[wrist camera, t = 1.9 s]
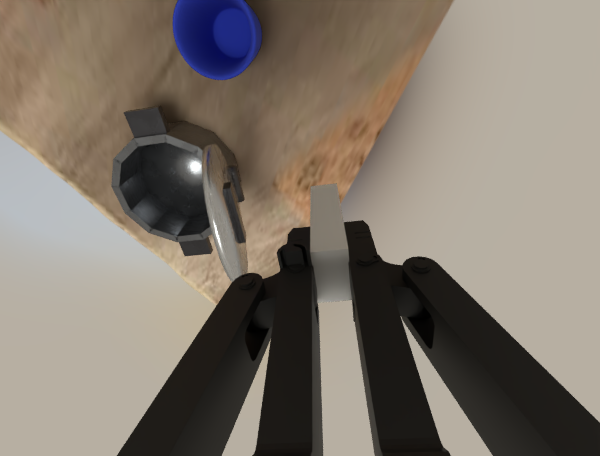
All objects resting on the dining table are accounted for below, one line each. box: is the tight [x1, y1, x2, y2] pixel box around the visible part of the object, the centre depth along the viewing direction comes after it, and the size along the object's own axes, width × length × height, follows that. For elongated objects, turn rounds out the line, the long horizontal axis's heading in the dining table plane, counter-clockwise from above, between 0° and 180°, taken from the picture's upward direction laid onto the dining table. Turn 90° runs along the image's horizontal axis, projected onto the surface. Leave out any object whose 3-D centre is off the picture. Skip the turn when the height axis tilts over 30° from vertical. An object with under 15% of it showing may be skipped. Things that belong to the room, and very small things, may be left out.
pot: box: [112, 106, 245, 256], centre depth 46 cm, size 22×18×7 cm
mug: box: [173, 0, 262, 80], centre depth 34 cm, size 8×12×10 cm
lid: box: [202, 144, 248, 282], centre depth 35 cm, size 16×16×2 cm
